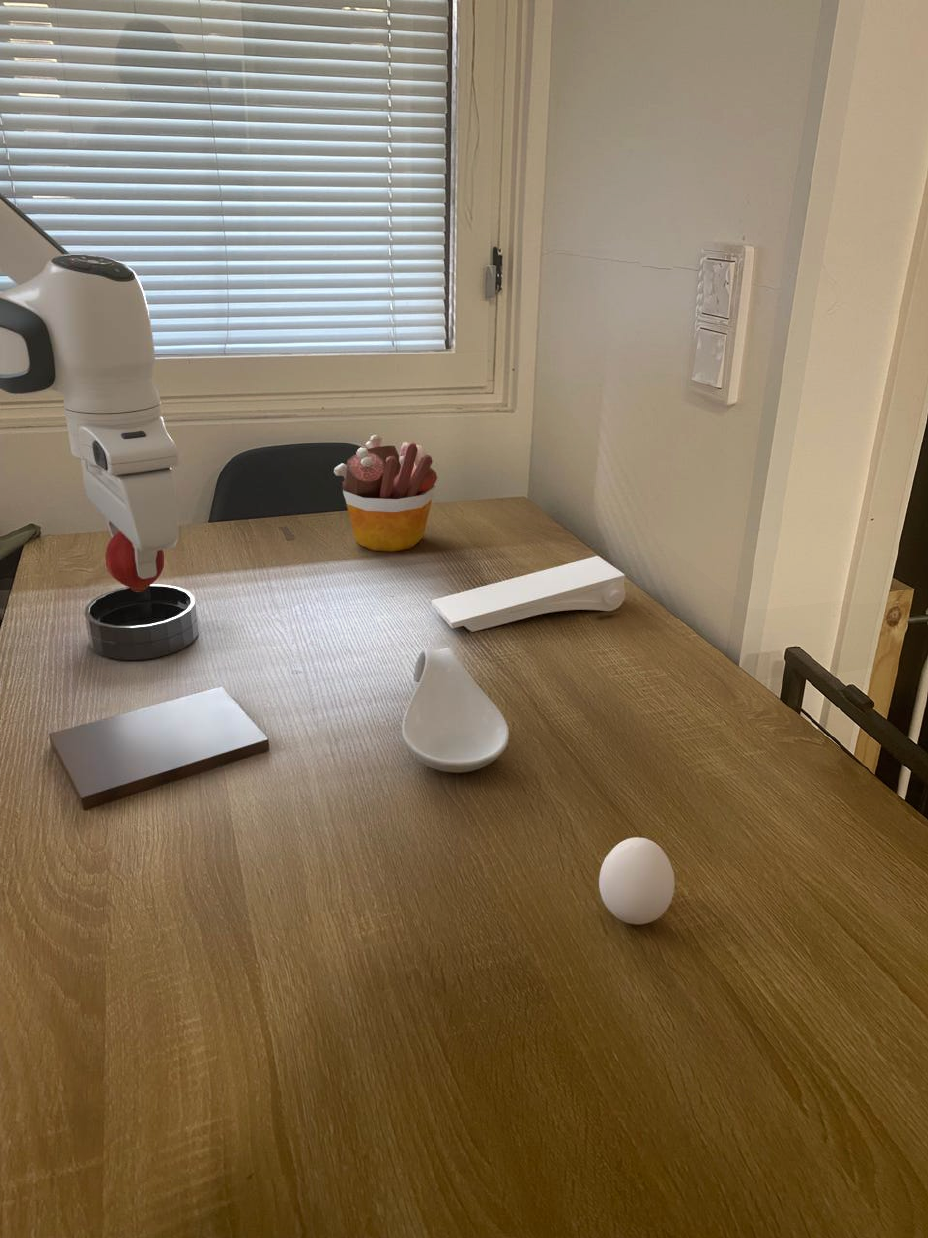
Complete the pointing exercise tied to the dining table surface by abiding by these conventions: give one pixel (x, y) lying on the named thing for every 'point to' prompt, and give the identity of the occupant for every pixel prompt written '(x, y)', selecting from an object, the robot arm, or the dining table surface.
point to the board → (155, 745)
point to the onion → (128, 563)
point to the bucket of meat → (388, 494)
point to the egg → (637, 881)
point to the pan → (141, 622)
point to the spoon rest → (451, 717)
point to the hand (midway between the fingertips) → (135, 564)
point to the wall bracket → (536, 595)
